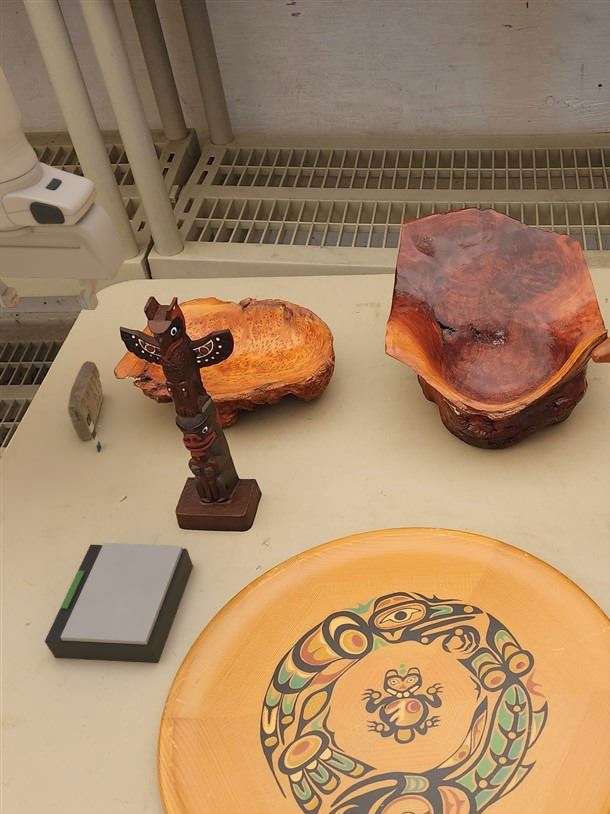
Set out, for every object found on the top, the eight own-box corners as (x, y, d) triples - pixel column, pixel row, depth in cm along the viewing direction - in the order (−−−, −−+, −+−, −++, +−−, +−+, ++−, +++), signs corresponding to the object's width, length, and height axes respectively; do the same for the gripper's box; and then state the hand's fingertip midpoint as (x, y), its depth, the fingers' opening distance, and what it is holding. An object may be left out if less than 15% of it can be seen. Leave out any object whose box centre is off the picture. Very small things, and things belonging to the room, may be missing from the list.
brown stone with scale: (86, 418, 107) (106, 359, 115) (55, 419, 107) (77, 360, 115) (99, 452, 111) (117, 393, 119) (69, 453, 111) (89, 394, 119)
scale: (54, 657, 90) (41, 638, 87) (98, 561, 98) (88, 540, 96) (158, 663, 89) (148, 643, 86) (193, 565, 98) (185, 544, 95)
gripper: (-108, 205, 89) (-49, 318, 99) (86, 210, 88) (126, 324, 98) (-77, 177, 93) (-24, 288, 103) (108, 181, 92) (144, 293, 102)
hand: (50, 306), depth 100 cm, fingers open, 8 cm apart
